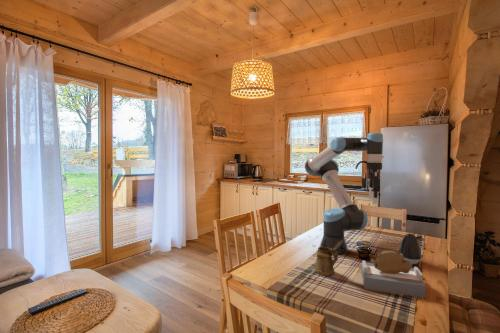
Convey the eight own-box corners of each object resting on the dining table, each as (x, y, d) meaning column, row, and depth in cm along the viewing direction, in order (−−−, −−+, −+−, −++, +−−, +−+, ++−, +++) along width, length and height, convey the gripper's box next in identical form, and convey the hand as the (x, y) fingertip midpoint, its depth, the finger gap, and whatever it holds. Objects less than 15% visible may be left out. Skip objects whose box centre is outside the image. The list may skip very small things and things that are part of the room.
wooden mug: (337, 281, 116) (337, 241, 115) (310, 271, 126) (311, 234, 125) (346, 274, 123) (346, 237, 122) (320, 265, 132) (320, 230, 131)
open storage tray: (364, 288, 110) (365, 271, 110) (361, 272, 125) (361, 257, 125) (425, 298, 103) (425, 279, 103) (413, 279, 118) (414, 263, 118)
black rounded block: (425, 267, 130) (426, 237, 129) (402, 265, 132) (403, 236, 132) (416, 259, 140) (417, 231, 139) (395, 257, 142) (396, 230, 141)
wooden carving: (407, 271, 115) (408, 249, 114) (413, 276, 110) (413, 253, 110) (368, 269, 117) (369, 247, 116) (372, 274, 112) (372, 251, 112)
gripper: (386, 163, 127) (385, 206, 128) (378, 161, 150) (377, 197, 152) (369, 163, 129) (368, 205, 130) (364, 161, 153) (363, 197, 154)
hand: (373, 201), depth 141 cm, fingers open, 13 cm apart
